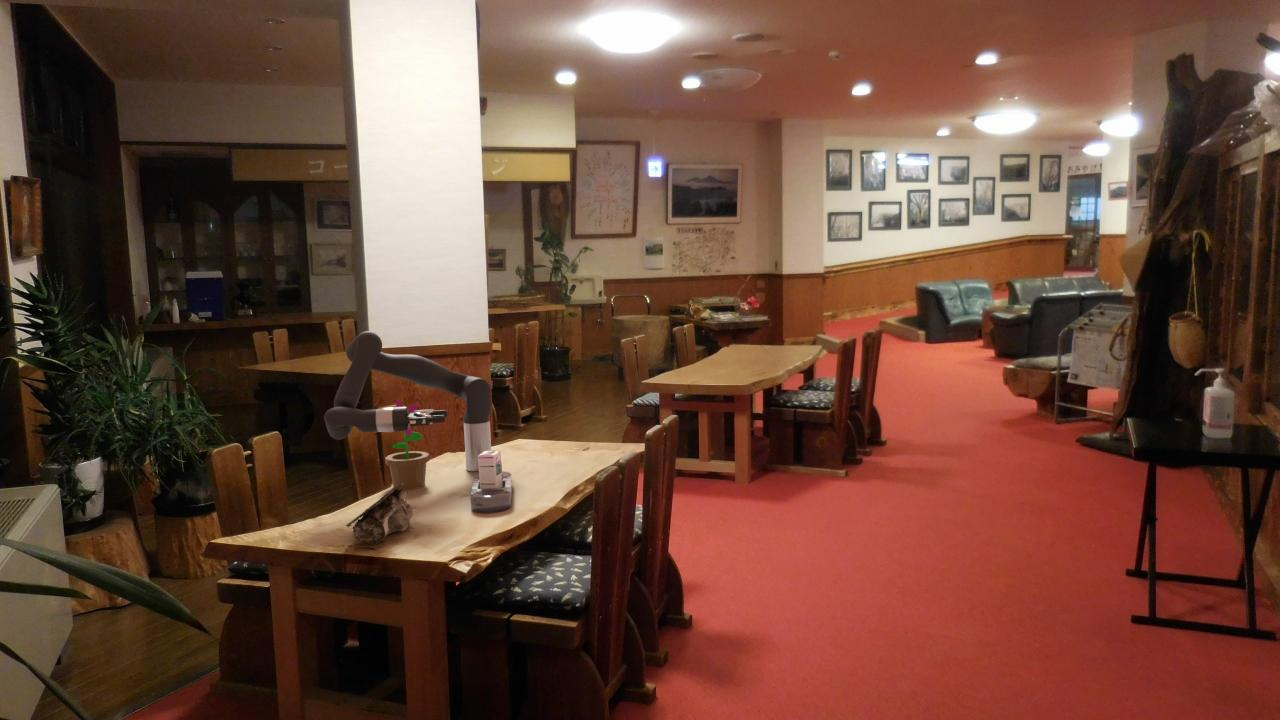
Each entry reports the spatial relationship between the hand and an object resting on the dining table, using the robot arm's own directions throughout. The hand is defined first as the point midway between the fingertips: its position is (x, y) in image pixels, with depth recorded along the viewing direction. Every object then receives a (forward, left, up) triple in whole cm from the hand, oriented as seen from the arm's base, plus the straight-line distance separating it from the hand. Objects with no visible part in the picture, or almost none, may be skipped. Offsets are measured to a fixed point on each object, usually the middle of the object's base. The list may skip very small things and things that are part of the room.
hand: (446, 415), depth 282 cm
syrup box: (0, +13, -27) cm, 30 cm away
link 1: (-6, +13, -27) cm, 30 cm away
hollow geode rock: (+32, -17, -27) cm, 45 cm away
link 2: (+6, +13, -27) cm, 30 cm away
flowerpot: (-22, -15, -27) cm, 38 cm away
